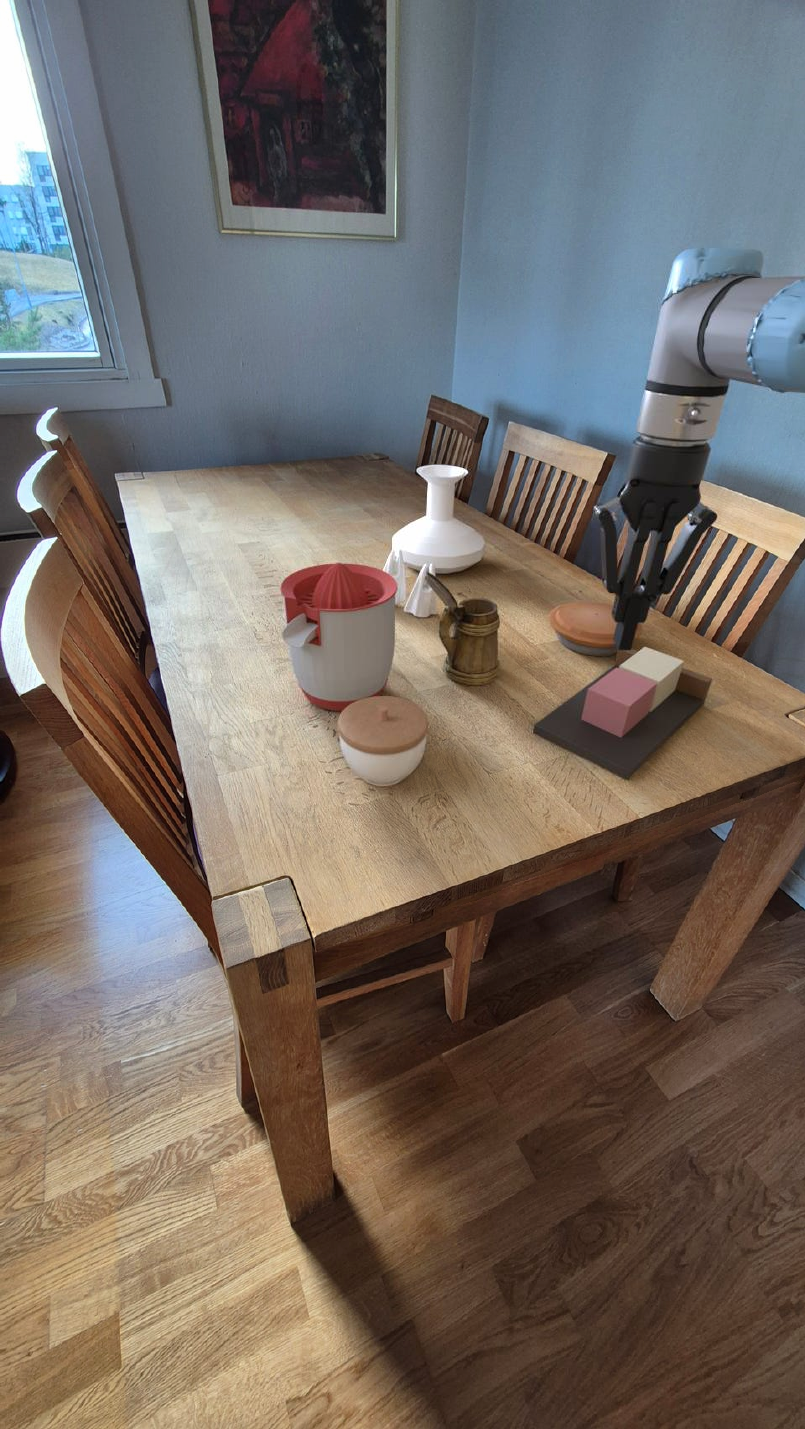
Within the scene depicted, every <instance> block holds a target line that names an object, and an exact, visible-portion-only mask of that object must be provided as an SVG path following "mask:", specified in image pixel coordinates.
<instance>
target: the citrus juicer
mask: <svg viewBox="0 0 805 1429" xmlns="http://www.w3.org/2000/svg"><path fill="white" fill-rule="evenodd" d="M279 589H280V594H281V595H282V597H283V598H282V599H283V608H284V620H285V627H284V628H283V630H282V634H281V637H282V640H283V642H284V643H285V644H287V649H288V653H289V654H288V655H289V658H290V659H289V660H290V663H291V666H292V669H293V673H294V676H295V677H296V680H297V684H298V686H299V688H300V689H301V691H302V693H303V694H304V696H305V698H306V700H308V701H309V702H310V703H311V704H312V705H314V706H316V707H319V708H321V709H324V710H329V711H338V712H342V711H343V710H344V709H345V708H346V707H347V706H349V705H350V704H352V703H354V702H356V701H358V700H361V699H364V698H368V697H374V696H382V694H383V692H384V690H385V688H386V686H387V684H388V681H389V675H390V673H391V669H392V665H393V661H394V656H395V646H396V645H395V643H396V641H395V640H396V605H395V594H396V592H397V589H398V588H397V583H396V581H395V579H394V578H393V577H392V576H391V575H390V574H388V573H386V572H384V571H383V569H382V570H381V569H379V568H377V567H373V566H369V565H363V564H358V563H342V562H335V563H325V564H317V565H313V566H308V567H305V568H302V569H300V570H297V571H295V572H293V573H291V574H290V575H288V576H287V577H285V578H284V579H283V581H282V582H281V584H280V588H279Z"/></svg>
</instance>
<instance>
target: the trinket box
mask: <svg viewBox="0 0 805 1429" xmlns="http://www.w3.org/2000/svg"><path fill="white" fill-rule="evenodd" d="M340 712H341V713H340V714H339V716H338V719H337V729H338V730H337V731H338V733H339V735H338V736H339V744H340V749H341V753H342V756H343V759H344V762H345V763H346V764H347V767H348V768H349V769H350V770H351V772H353V773H354V774H355V775H356V776H357V777H359V778H361V780H363V781H364V782H365V783H367V784H369V785H372V786H376V787H391V786H394V785H396V784H399V783H400V782H402V781H403V780H405V779H406V778H407V777H408V776H410V775H411V774H413V772H414V771H415V770H416V769H417V767H418V766H419V764H420V763H421V761H422V759H423V756H424V754H425V750H426V745H427V738H428V737H427V736H428V735H427V734H428V730H429V719H428V716H427V714H426V712H425V711H424V710H423V709H422V708H421V707H420V706H419V705H417V704H416V703H414V702H412V701H411V700H408V699H405V698H402V697H397V696H390V695H380V696H374V697H368V698H364V699H361V700H358V701H356V702H354V703H352V704H350V705H349V706H347V707H346V708H345V709H344V710H343V711H340Z"/></svg>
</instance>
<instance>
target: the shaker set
mask: <svg viewBox="0 0 805 1429" xmlns="http://www.w3.org/2000/svg"><path fill="white" fill-rule="evenodd" d="M395 557H396V556H395V550H393V549H392V550H391V551H390V554H389V555H388V558H387V560H386V562H385V564H384V567H383V569H382V571H384V572H386V573H388V574H390V575H391V576H392V577H393V578H394V579H395V581H396V583H397V588H398V589H397V592H396V594H395V606H398V605H399V604H400V603H403V602H406V603H405V606H404V607H403V612H405V613H411V614H413V616H414V617H418V618H428V617H429V616H431V615H435V616H436V615H438V596H437V594H436V593H435V592H434V591H433V589H432V588H431V587H430V585H429V584H428V583H427V581H426V579H425V575H426V573H427V572H426V570H427V564H425V565H424V566H423V568H422V570H421V571H419V573H418V576H417V579H416V580H415V583H414V585H413V586H412V590H411V591H410V594H409V596H408V598H407V588H406V587H407V586H406V573H405V563H404V562H403V555H402V551H401V550H398V553H397V557H396V558H395ZM429 573H431V574H432V575H434V576H435V577H436V578H437V576H436V573H435V567H434V565H433V564H431V565H430V568H429Z"/></svg>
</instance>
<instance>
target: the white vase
mask: <svg viewBox="0 0 805 1429" xmlns="http://www.w3.org/2000/svg"><path fill="white" fill-rule="evenodd" d="M416 473H417V474H418V475H419V476H420V477H421V478H423V479H424V480H425V481H426V482H427V497H426V515H425V516H423V517H421V518H419V519H416V520H415V521H411V522H410V523H409V524H407V525H405V526H404V527H403V528H401V529H400V530H398V531H397V532H396V533H395V534H394V535H393V536H392V550H395V557H396V558H397V553H398V550H401V551H402V555H403V562H404V565H407V567H408V568H410V569H412V570H416V571H418V572H421V570H422V568H423V566H424V565H425V564H427V570H426V573H427V572H429V568H430V565H431V564H433V565H434V567H435V574H453V573H459V572H462V571H465V570H466V569H469V568H470V567H472V566H474V565H475V564H477V563H479V562H480V561H481V560H482V558H483V557H484V555H485V551H486V550H485V549H486V541H485V539H484V537H483V536H482V535H481V534H480V533H479V532H477V531H476V530H475V529H474V528H473V527H471V526H469V525H467V524H465V523H464V522H462V521H460V519H459V520H458V519H457V518H455V517H454V505H455V491H456V483H458V482H459V481H460V480H461V479H463V478H464V477H465V476H467V475H468V474H469V471H468V470H467V469H465V468H464V467H460V466H456V465H449V464H448V465H447V464H430V465H429V464H427V465H423V466H419V467H418V468H416Z"/></svg>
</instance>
